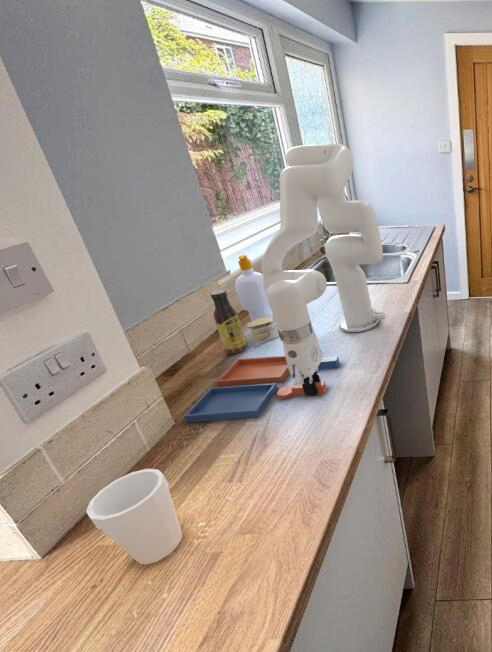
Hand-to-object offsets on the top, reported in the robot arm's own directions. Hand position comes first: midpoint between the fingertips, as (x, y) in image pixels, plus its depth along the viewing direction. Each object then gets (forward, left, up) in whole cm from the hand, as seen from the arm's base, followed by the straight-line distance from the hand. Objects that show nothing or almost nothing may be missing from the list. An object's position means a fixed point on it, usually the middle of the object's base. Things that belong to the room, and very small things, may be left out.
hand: (313, 390), depth 106 cm
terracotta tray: (+19, -11, 0) cm, 22 cm away
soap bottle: (+35, -48, -1) cm, 59 cm away
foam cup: (+12, +41, -1) cm, 43 cm away
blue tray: (+19, +3, 0) cm, 19 cm away
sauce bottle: (+33, -26, -1) cm, 42 cm away
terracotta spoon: (+3, 0, 0) cm, 3 cm away
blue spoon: (+3, -12, 0) cm, 12 cm away
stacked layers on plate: (+28, -34, -1) cm, 44 cm away
